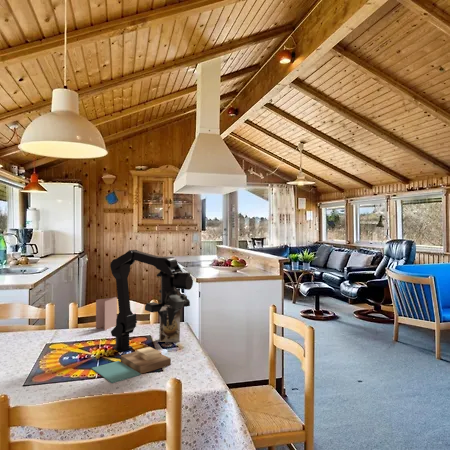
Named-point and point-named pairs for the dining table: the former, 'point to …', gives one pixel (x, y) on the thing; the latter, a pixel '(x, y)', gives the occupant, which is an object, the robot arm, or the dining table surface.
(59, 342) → the dining table surface
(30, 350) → the dining table surface
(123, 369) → the teal mat
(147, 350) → the birch tile
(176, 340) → the coffee box
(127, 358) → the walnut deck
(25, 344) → the dining table surface
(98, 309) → the greeting card
